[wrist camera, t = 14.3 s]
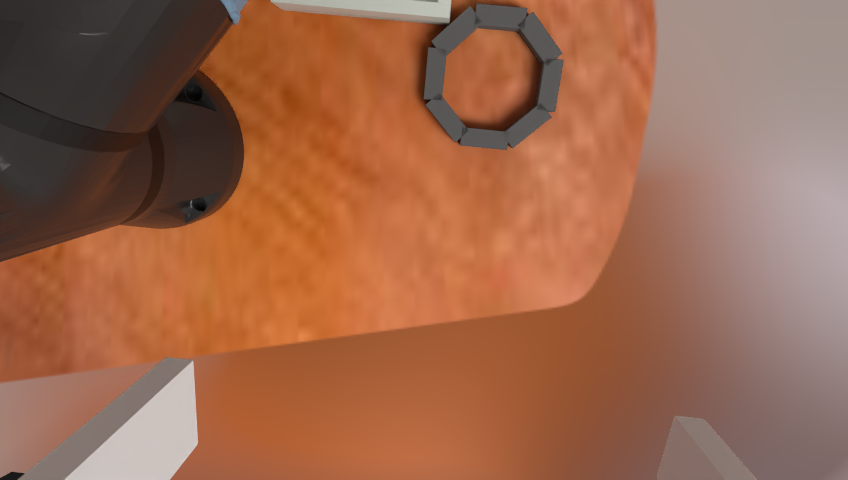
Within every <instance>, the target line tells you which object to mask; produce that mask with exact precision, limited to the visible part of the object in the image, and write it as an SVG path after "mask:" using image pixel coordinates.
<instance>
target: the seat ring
mask: <svg viewBox="0 0 848 480" xmlns="http://www.w3.org/2000/svg"><path fill="white" fill-rule="evenodd" d="M526 14H527V8H520V7H509V6H498V5H487V4H476V9H475V11H474V10H473V9H472V7H471V6H469V7H468V8H467V9H466V10H465V11H464V12H463V13H462V14H461V15H460V16H458V17H457V18H456V19H455V20H454V21H453V22H452V23H451V24H450V25H449V26H447V27H446V28H445V29H444V30H443V31H442V32H441V33H440V34H439V35H438V36H436V37H435V38H434V39H433V40H432V41H431V42H432V45H433V46H434V47H435V48H431V47H428V56H427V67H426V78H425V90H424V100H431V101H429V102H428V103H427V104H426V106H427V108H428V109H429V110H430V111H431V113H432V114H433V115H434V116H435V118H436V119H437V120H438V121H439V123H440V124H441V125H442V127H443V128H444V129H445V130H446V132H447V133H448V134H449V135H450V137H451V138H452V139H453V140H454V142H456V141H457V140H459V139H460V138H461V140H460V145H462V146H472V147H482V148H492V149H502V150H507V146H508V145H509V146H510V147H511V148H514V147H515V146H516V145H517V144H519V143H520V142H521V141H522V140H524V139H525V138H526V137H527V136H529V135H530V134H531V133H532V132H534V131H535V130H536V129H537V128H539V127H540V126H541V125H542V124H544V123H545V122H546V121H547V120H549V119H550V118H551V116H550V114H549V113H548V112H555V109H556V103H557V97H558V91H559V85H560V79H561V73H562V67H563V62H564V60H559V59H556V58H557V57H559V56H560V55H561V54H562V52H561V51H560V49H559V48H558V46H557V45H556V44H555V42H554V41H553V39H552V38H551V36H550V35H549V34H548V32H547V31H546V29H545V28H544V26H543V25H542V24H541V22H540V21H539V19H538V18H537V16H536V15H535V14H534V12H532V13H531V14H529V15H528V16H527V17H526ZM477 28H483V29H494V30H504V31H515V32H518V33H519V34H520V36H521V37H522V39H523V40H524V41H525V43H526V44H527V45H528V47H529V48H530V50H531V51H532V52H533V54H534V55H535V57H536V58H537V59H538V61H539V62H540V64H541V70H540V76H539V82H538V89H537V95H536V102H535V106H534V107H533V108H532V109H531V110H529V111H528V112H527V113H526V114H524V115H523V116H522V117H521V118H520V119H518V120H517V121H516V122H515V123H513V124H512V125H511V126H510V127H508V128H507V129H506V130H505V131H494V130H484V129H474V128H466V127H465V125H464V124H463V123H462V121H461V120H460V119H459V118H458V116H457V115H456V114H455V112H454V111H453V110H452V109H451V107H450V106H449V105H448V103H447V102H446V101H445V100H444V98H443V97H442V93H443V83H444V73H445V63H446V56H447V55H448V54H449V53H450V52H451V51H452V50H453V49H454V48H456V47H457V46H458V45H459V44H460V43H461V42H462V41H463V40H465V39H466V38H467V37H468V36H469V35H470V34H471V33H472V32H474V31H475V30H476V29H477Z"/></svg>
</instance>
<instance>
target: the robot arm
mask: <svg viewBox="0 0 848 480" xmlns="http://www.w3.org/2000/svg"><path fill="white" fill-rule="evenodd" d="M247 1H248V0H0V262H2V261H5V260H8V259H11V258H14V257H18V256H21V255H24V254H27V253H30V252H34V251H37V250H40V249H43V248H47V247H50V246H53V245H56V244H59V243H63V242H66V241H69V240H72V239H75V238H79V237H82V236H85V235H88V234H92V233H95V232H98V231H101V230H104V229H108V228H111V227H114V226H117V225H126V226H136V227H146V228H157V229H166V228H175V227H181V226H185V225H188V224H191V223H193V222H196V221H199V220H201V219H204V218H206V217H208V216H210V215H211V214H213V213H215V212H216V211H217V210H219V209H220V208H221V207H222V206H223V205H224V204H225V203H226V202H227V201H228V200H229V198H230V197H231V195H232V194H233V192H234V191H235V189H236V187H237V184H238V182H239V179H240V176H241V173H242V168H243V160H244V146H243V138H242V133H241V129H240V126H239V123H238V120H237V117H236V115H235V113H234V111H233V109H232V107H231V105H230V103H229V102H228V100H227V99H226V97H225V96H224V94H223V93H222V92H221V91H220V89H219V88H218V87H217V86H216V85H215V84H214V83H213V82H212V81H211V80H210V79H209V78H208V77H207V76H205V75H204V74H203V73H201V72H200V71H199V70H198V68H199V67H200V66H201V65H202V63H203V62H204V61H205V59H206V58H207V57H208V55H209V54H210V53H211V52H212V50H213V49H214V48H215V46H216V45H217V44H218V43H219V41H220V40H221V39H222V37H223V36H224V35H225V33H226V32H227V31H228V30H229V28H230V27H231V26H232V24H234V25H235V26H236V25H237V24H238V22H239V21H240V17H241V16H240V12H241V10H242V9H243V7H244V6H245V4H246V3H247ZM197 444H198V435H197V418H196V402H195V384H194V366H193V360H186V359H177V358H168V357H166V358H164V359H163V360H162V361H161V362H160V363H158V364H157V365H156V366H155V367H154V368H152V369H151V370H150V371H149V372H148V373H146V374H145V375H144V376H143V377H141V378H140V379H139V380H138V381H137V382H135V383H134V384H133V385H132V386H131V387H130V388H128V389H127V390H126V391H124V392H123V393H122V394H121V395H120V396H118V397H117V398H116V399H115V400H114V401H112V402H111V403H110V404H109V405H107V406H106V407H105V408H104V409H103V410H101V411H100V412H99V413H98V414H97V415H95V416H94V417H93V418H92V419H91V420H89V421H88V422H87V423H86V424H85V425H83V426H82V427H81V428H80V429H78V430H77V431H76V432H75V433H74V434H72V435H71V436H70V437H69V438H67V439H66V440H65V441H64V442H63V443H61V444H60V445H59V446H58V447H57V448H55V449H54V450H53V451H52V452H50V453H49V454H48V455H47V456H46V457H45V458H43V459H42V460H41V461H40V462H38V463H37V464H36V465H35V466H34V467H32V468H31V469H30V470H29V471H28V472H26V473H17V472H11V473H9V474H7V475H5V476H3V477H1V478H0V480H170V479H171V477H172V476H173V475H174V474H175V472H176V471H177V470H178V468H179V467H180V466H181V465H182V463H183V462H184V461H185V460H186V458H187V457H188V456H189V454H190V453H191V452H192V451H193V449H194V448H195V447H196V445H197ZM656 480H757V479H756V478H755V477H754V476H753V475H752V473H751V472H750V471H749V470H748V469H747V468H746V467H745V465H744V464H743V463H742V462H741V461H740V460H739V459H738V458H737V456H736V455H735V454H734V453H733V452H732V451H731V449H730V448H729V447H728V446H727V445H726V444H725V442H723V440H722V439H721V438H720V437H719V436H718V434H717V433H716V432H715V431H714V430H713V429H712V428H711V427H710V425H709V424H708V423H707V422H706V421H705V420H704V419H700V418H691V417H682V416H675V417H674V421H673V424H672V427H671V431H670V434H669V437H668V441H667V444H666V448H665V451H664V454H663V458H662V461H661V465H660V468H659V471H658V475H657V478H656Z"/></svg>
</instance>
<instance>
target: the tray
mask: <svg viewBox="0 0 848 480" xmlns="http://www.w3.org/2000/svg"><path fill="white" fill-rule="evenodd" d="M271 2H272V3H273V4H275V5H276V6H278V7H279V8H280V9H282V10H287V11H298V12H308V13H319V14H330V15H341V16H352V17H363V18H374V19H385V20H396V21H406V22H417V23H428V24H439V25H449V23H450V13H451V3H452V0H271Z"/></svg>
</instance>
